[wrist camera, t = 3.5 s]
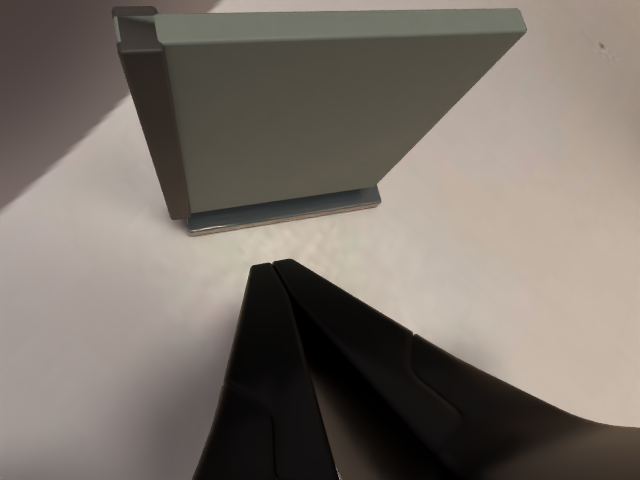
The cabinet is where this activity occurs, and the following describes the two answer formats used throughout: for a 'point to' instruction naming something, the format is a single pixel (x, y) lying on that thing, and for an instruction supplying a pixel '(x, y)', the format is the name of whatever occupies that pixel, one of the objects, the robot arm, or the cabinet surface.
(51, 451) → the cabinet surface
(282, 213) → the dark grey flat bar
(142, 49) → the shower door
